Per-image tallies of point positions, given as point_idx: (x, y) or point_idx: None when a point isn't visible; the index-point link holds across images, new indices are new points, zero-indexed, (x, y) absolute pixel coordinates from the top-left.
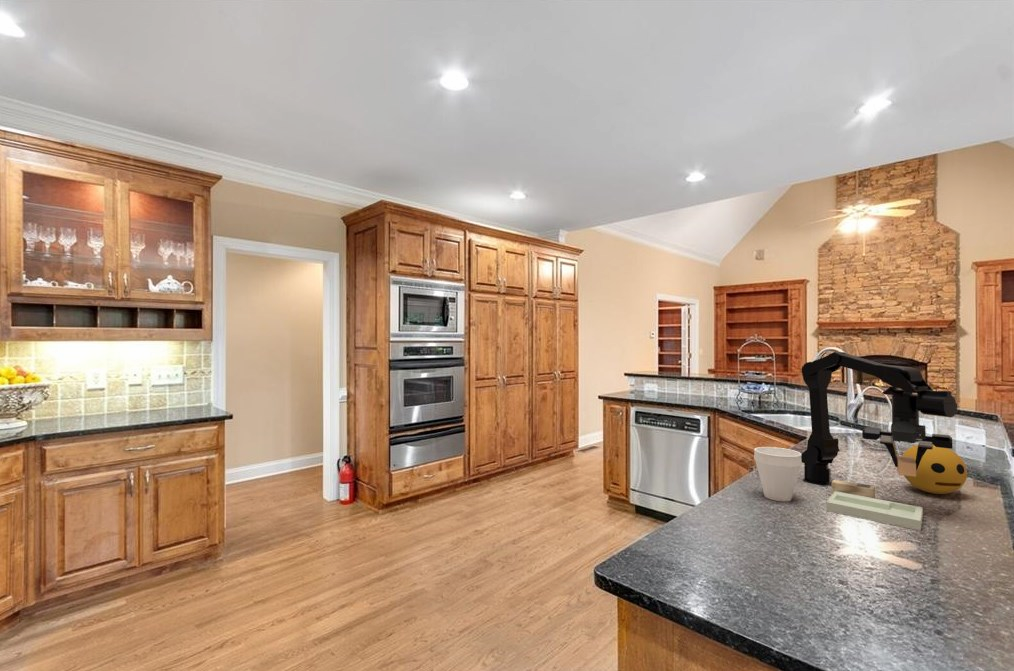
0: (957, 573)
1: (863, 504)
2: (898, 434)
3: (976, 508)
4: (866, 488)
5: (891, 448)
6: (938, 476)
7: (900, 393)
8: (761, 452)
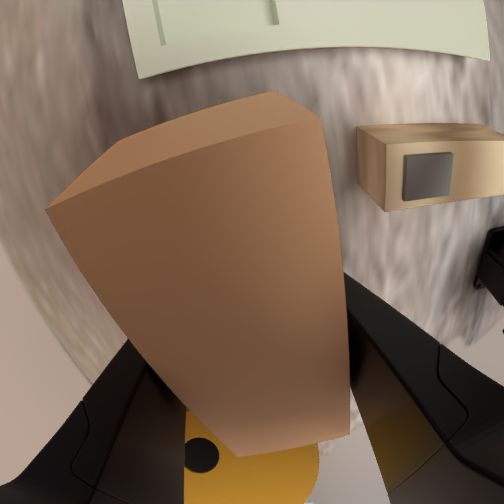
0: None
1: None
2: None
3: (109, 346)
4: (413, 142)
5: (491, 434)
6: (196, 425)
7: None
8: None
